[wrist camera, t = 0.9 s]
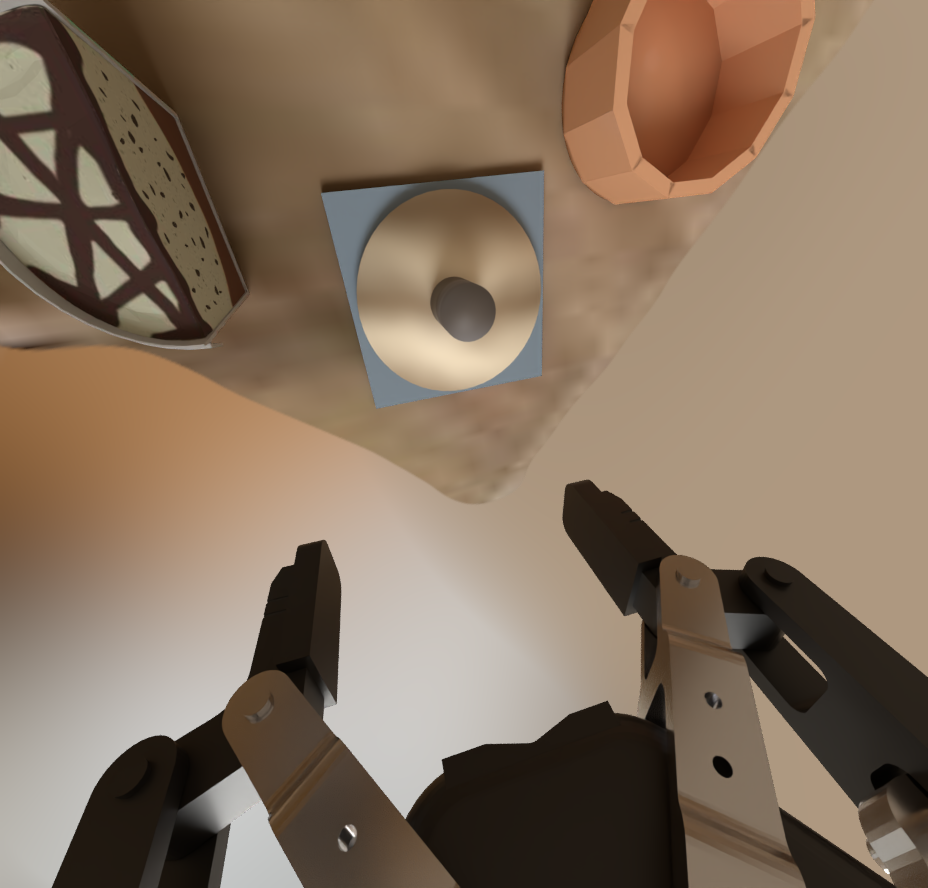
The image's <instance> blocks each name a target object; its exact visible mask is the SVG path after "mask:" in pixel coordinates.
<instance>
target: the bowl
mask: <svg viewBox="0 0 928 888" xmlns="http://www.w3.org/2000/svg"><path fill="white" fill-rule="evenodd" d="M814 20H815V0H593V2H592V4H591V7H590V9H589V12H588V14H587V16H586V18H585V20H584V21H583V23H582V26H581V28H580V30H579V32H578V34H577V36H576V39H575V42H574V44H573V47H572V50H571V53H570V56H569V60H568V64H567V66H566V73H565V79H564V85H563V95H562V123H563V132H564V138H565V143H566V147H567V150H568V154H569V157H570V160H571V162H572V164H573V166H574V168H575V170H576V172H577V174H578V175H579V177H580V178H581V180H582V182H583V183H584V184H585V185H586V186H587V187H588V188H589V189H590V190H591V191H593V192H594V193H595V194H596V195H598V196H600V197H602V198H603V199H606V200H609V201H610V202H611V203H613V204H614V205H615V204H624V203H633V202H641V201H650V200H659V199H667V198H676V197H684V196H692V195H700V194H708V193H712V192H714V191H715V190H716V189H717V188H719V187H720V186H721V185H722V184H724V183H725V182H726V181H727V180H729V179H730V178H731V177H732V176H734V175H735V174H736V173H737V172H739V171H740V170H741V169H742V168H744V167H745V166H746V165H747V164H749V163H750V162H751V161H752V160H754V159H755V158H756V157H757V155H758V153H759V152H760V150H761V148H762V147H763V145H764V143H765V142H766V140H767V139H768V137H769V135H770V134H771V132H772V130H773V129H774V127H775V125H776V124H777V122H778V121H779V119H780V117H781V116H782V114H783V112H784V111H785V109H786V107H787V106H788V104H789V103H790V101H791V99H792V98H793V96H794V92H795V88H796V85H797V81H798V78H799V74H800V70H801V67H802V63H803V60H804V56H805V53H806V49H807V45H808V42H809V38H810V35H811V31H812V27H813V24H814Z"/></svg>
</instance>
